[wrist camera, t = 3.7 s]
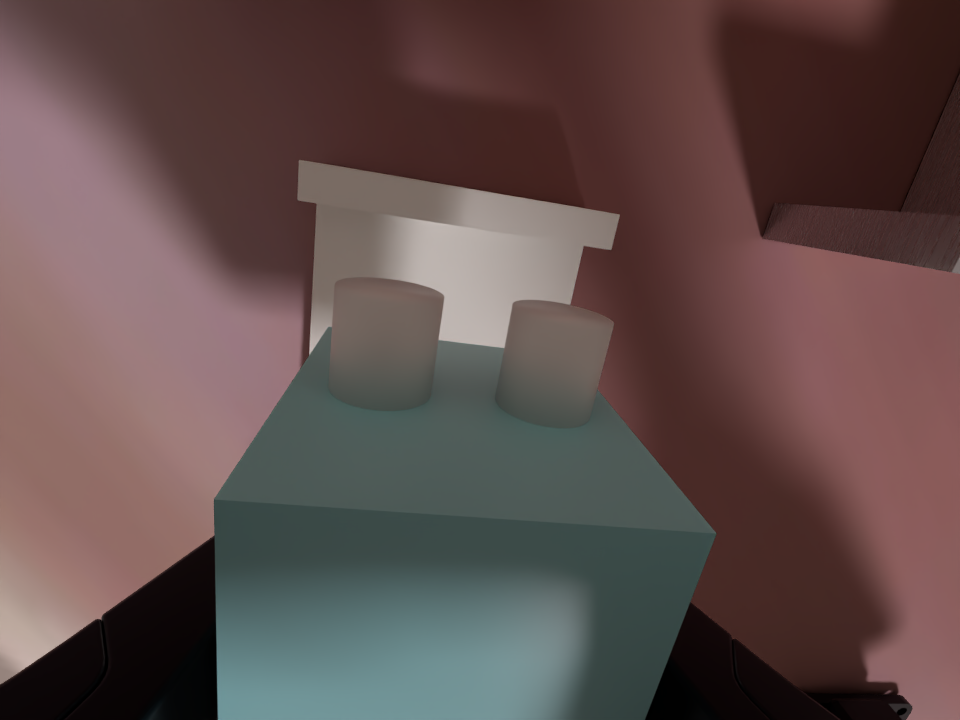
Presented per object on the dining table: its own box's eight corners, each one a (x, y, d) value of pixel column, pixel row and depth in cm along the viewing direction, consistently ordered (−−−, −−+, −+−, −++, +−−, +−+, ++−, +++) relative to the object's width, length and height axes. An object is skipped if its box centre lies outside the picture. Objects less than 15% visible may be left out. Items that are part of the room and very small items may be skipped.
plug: (508, 622, 10) (565, 930, 6) (309, 615, 10) (219, 954, 5) (586, 286, 8) (770, 407, 4) (331, 249, 7) (206, 342, 3)
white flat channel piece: (512, 535, 17) (527, 592, 15) (303, 522, 16) (283, 581, 14) (586, 208, 13) (619, 215, 11) (322, 163, 12) (298, 160, 10)
